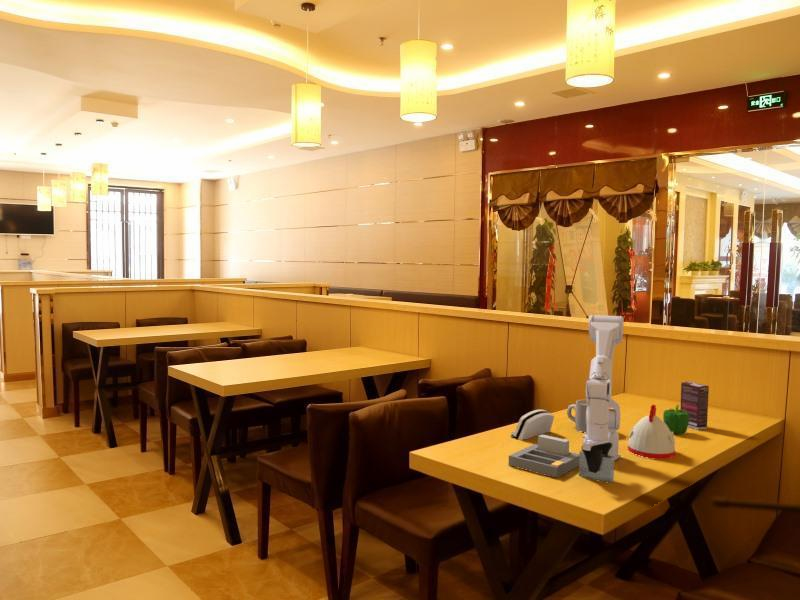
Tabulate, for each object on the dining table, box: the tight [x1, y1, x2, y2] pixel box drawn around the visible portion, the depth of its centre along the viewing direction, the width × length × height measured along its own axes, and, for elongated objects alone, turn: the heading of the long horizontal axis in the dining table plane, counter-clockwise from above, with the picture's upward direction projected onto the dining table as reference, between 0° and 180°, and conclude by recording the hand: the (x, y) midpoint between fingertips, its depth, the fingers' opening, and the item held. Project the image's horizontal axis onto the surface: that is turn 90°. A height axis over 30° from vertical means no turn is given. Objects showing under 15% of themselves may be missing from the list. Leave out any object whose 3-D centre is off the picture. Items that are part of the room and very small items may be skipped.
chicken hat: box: [627, 404, 676, 460], centre depth 197 cm, size 14×14×15 cm
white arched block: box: [509, 409, 555, 441], centre depth 214 cm, size 17×5×10 cm, turn 131°
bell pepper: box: [662, 403, 689, 435], centre depth 218 cm, size 8×8×10 cm
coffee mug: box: [566, 398, 587, 434], centre depth 223 cm, size 13×10×10 cm
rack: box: [508, 434, 580, 479], centre depth 183 cm, size 16×16×7 cm
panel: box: [578, 450, 615, 484], centre depth 173 cm, size 2×9×7 cm, turn 49°
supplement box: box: [679, 381, 710, 431], centre depth 227 cm, size 9×5×16 cm, turn 22°
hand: (596, 470), depth 173 cm, fingers open, 4 cm apart
